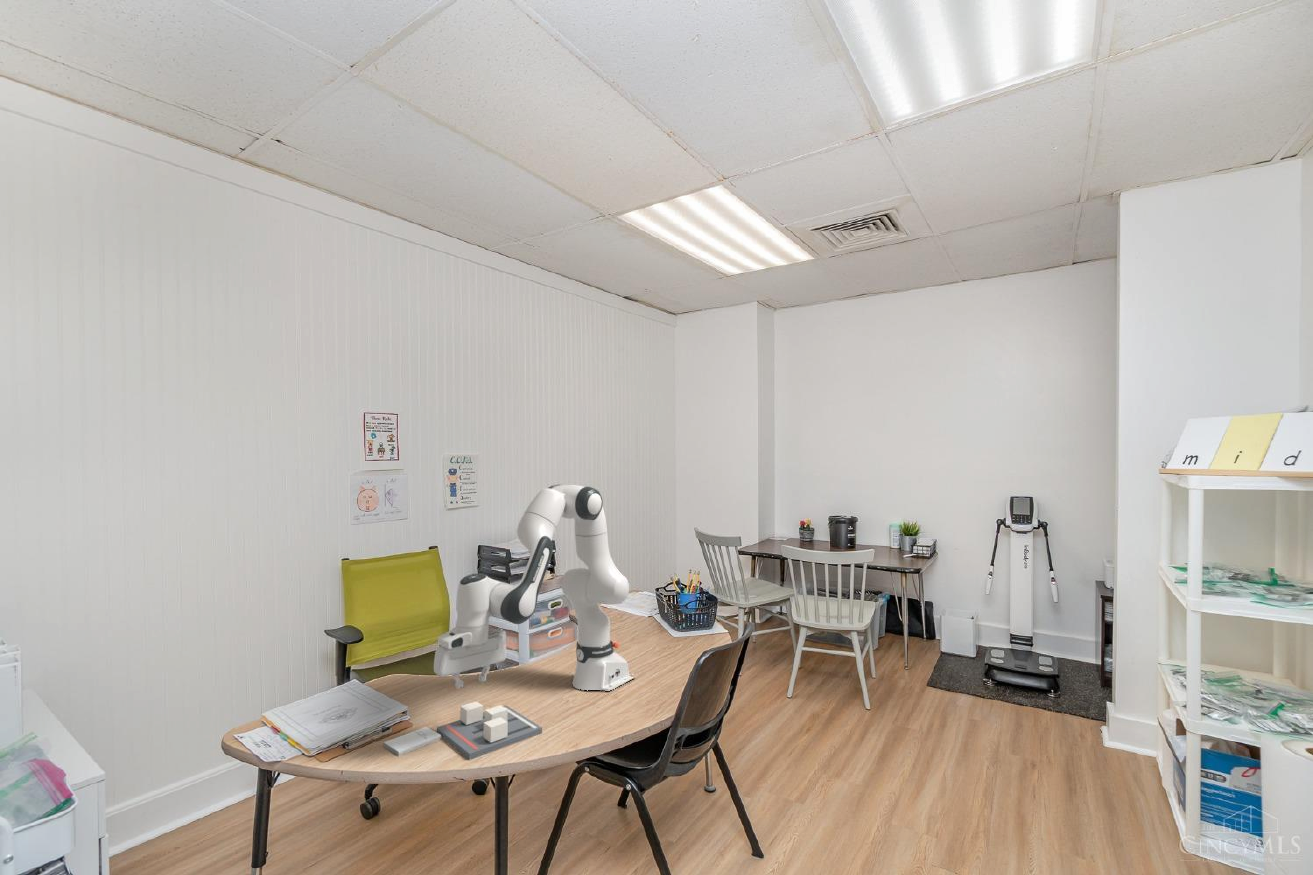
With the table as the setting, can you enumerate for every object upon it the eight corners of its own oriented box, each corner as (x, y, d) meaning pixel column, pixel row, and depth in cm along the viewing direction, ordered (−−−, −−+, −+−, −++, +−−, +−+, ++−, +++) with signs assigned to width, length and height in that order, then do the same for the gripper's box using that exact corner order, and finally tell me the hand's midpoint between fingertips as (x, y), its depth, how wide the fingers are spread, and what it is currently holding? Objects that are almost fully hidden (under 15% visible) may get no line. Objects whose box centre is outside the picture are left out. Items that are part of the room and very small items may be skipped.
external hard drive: (382, 747, 161) (425, 731, 171) (398, 758, 156) (441, 740, 165) (382, 741, 161) (425, 725, 171) (398, 751, 156) (441, 734, 166)
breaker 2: (500, 731, 166) (500, 717, 166) (507, 736, 163) (507, 721, 163) (483, 737, 162) (483, 722, 163) (490, 742, 160) (491, 727, 160)
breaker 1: (476, 714, 176) (476, 701, 176) (482, 719, 173) (483, 705, 173) (460, 720, 173) (460, 706, 173) (466, 724, 170) (466, 710, 170)
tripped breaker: (500, 718, 174) (500, 704, 174) (507, 723, 171) (507, 709, 171) (484, 724, 170) (484, 709, 170) (491, 728, 167) (491, 714, 167)
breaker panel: (506, 710, 184) (506, 705, 184) (542, 732, 170) (542, 727, 170) (436, 732, 169) (436, 726, 169) (469, 759, 154) (469, 753, 154)
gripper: (500, 624, 175) (499, 671, 175) (431, 638, 161) (430, 690, 161) (511, 629, 171) (510, 678, 170) (442, 644, 156) (440, 697, 156)
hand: (470, 684), depth 165 cm, fingers open, 5 cm apart
